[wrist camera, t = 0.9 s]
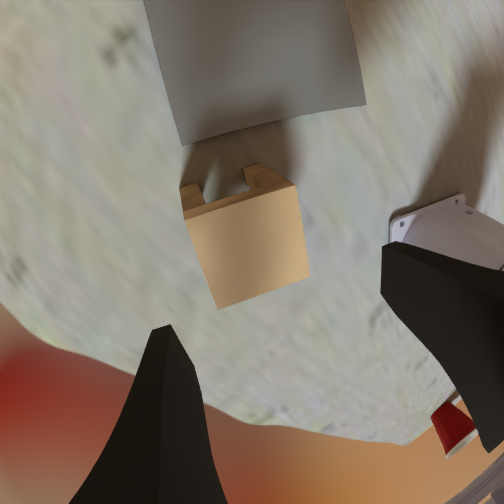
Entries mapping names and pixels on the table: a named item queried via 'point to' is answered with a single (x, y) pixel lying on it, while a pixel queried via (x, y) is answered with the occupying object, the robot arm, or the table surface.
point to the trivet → (253, 61)
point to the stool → (248, 237)
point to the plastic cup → (453, 428)
